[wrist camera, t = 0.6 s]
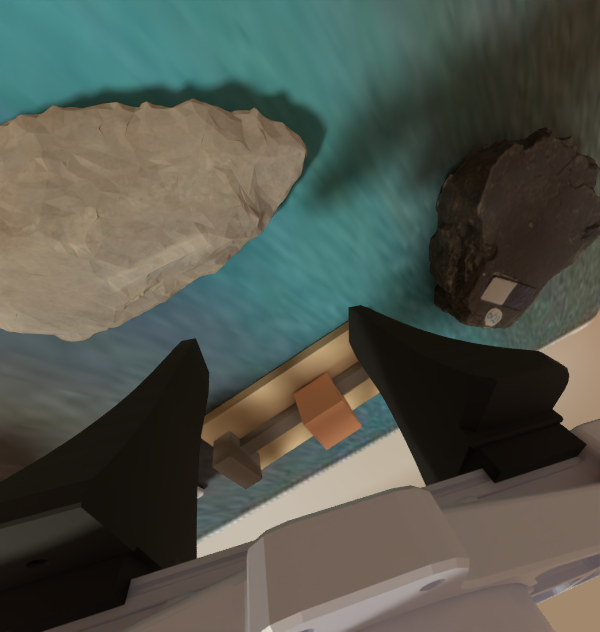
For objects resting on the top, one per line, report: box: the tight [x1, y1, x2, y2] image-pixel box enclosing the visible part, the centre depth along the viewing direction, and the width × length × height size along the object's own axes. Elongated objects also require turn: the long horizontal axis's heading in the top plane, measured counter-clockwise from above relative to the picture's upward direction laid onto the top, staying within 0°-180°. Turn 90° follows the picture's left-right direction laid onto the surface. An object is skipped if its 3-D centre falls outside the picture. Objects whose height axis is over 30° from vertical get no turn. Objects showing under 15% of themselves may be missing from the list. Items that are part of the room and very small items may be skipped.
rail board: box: [201, 321, 380, 489], centre depth 26 cm, size 20×10×4 cm, turn 120°
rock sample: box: [429, 128, 600, 329], centre depth 23 cm, size 18×16×5 cm
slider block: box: [293, 372, 362, 449], centre depth 24 cm, size 4×5×4 cm
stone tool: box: [0, 98, 307, 342], centre depth 15 cm, size 12×5×25 cm
